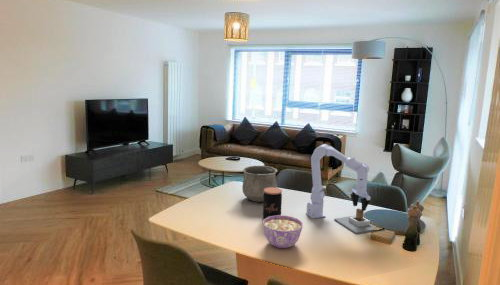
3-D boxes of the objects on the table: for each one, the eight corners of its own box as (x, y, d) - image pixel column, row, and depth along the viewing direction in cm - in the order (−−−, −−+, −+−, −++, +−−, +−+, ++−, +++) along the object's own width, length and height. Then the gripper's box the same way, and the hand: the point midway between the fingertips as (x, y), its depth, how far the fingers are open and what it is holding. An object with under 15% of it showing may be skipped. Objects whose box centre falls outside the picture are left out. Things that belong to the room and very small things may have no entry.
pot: (235, 196, 251) (236, 166, 247) (264, 192, 262) (265, 163, 258) (252, 208, 229) (253, 176, 225) (283, 203, 240) (285, 172, 236)
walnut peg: (358, 224, 206) (359, 211, 205) (353, 222, 210) (355, 209, 208) (364, 223, 208) (365, 210, 206) (359, 221, 211) (360, 208, 210)
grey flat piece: (355, 234, 196) (356, 228, 196) (334, 220, 215) (334, 214, 214) (384, 229, 204) (385, 223, 203) (361, 216, 222) (362, 210, 221)
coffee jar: (259, 220, 211) (260, 191, 208) (267, 214, 220) (268, 186, 217) (276, 224, 206) (277, 194, 203) (283, 218, 216) (284, 189, 212)
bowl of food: (279, 258, 168) (280, 234, 166) (254, 241, 184) (254, 220, 182) (310, 247, 180) (311, 225, 178) (283, 232, 196) (284, 212, 193)
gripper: (375, 188, 200) (373, 211, 203) (358, 181, 213) (357, 203, 216) (365, 189, 198) (363, 213, 200) (349, 182, 211) (347, 204, 213)
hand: (359, 208), depth 208 cm, fingers open, 7 cm apart
